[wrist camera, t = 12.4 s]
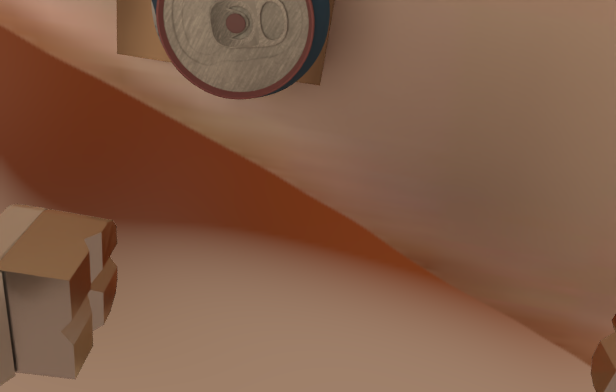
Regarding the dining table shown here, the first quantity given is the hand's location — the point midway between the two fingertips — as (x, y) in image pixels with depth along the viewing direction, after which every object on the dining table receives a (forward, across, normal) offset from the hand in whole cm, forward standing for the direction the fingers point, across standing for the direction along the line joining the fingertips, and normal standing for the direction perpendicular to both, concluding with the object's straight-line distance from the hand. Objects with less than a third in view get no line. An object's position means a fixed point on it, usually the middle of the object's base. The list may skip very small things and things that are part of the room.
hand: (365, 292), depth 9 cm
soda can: (+26, -5, 0) cm, 26 cm away
